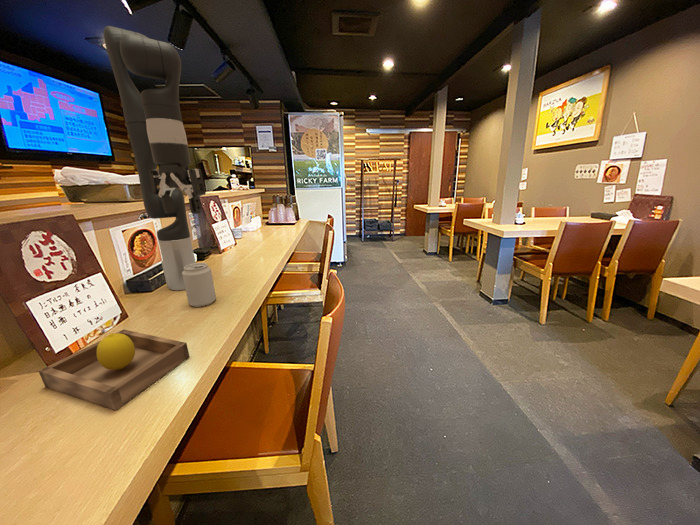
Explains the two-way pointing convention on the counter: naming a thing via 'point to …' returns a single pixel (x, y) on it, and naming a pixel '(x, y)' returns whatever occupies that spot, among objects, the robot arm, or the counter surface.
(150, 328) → the counter surface
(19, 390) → the counter surface
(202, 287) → the can
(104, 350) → the lemon
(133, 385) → the tray
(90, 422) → the counter surface
